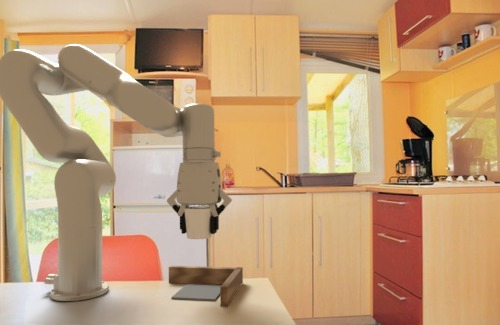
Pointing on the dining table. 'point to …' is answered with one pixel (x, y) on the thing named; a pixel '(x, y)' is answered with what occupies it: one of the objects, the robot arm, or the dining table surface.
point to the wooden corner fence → (210, 278)
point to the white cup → (198, 222)
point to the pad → (198, 292)
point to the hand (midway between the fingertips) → (199, 232)
